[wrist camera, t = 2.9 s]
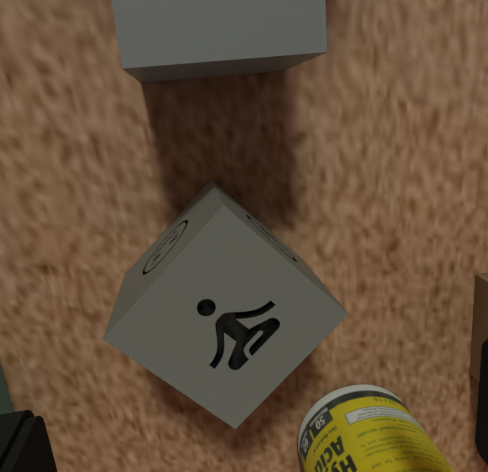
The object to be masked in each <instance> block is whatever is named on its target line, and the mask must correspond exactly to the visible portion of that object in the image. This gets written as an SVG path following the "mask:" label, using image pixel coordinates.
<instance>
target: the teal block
mask: <svg viewBox="0 0 488 472" xmlns="http://www.w3.org/2000/svg"><path fill="white" fill-rule="evenodd" d="M12 412H13V408H12V405H11V401H10V398H9V394H8V391H7V387H6V384H5V380H4V377H3V373H2V370H1V366H0V414H6V413H12Z"/></svg>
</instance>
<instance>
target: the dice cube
mask: <svg viewBox="0 0 488 472" xmlns="http://www.w3.org/2000/svg"><path fill="white" fill-rule="evenodd" d="M347 315H348V313H347V312H346V310H345V309H344V308H343V307H342V306H341V304H340V303H339V302H338V301H337V300H336V299H335V297H334V296H333V295H332V294H331V293H330V291H329V290H328V289H327V288H326V287H325V285H324V284H323V283H322V282H321V281H320V279H319V278H318V277H317V276H316V275H315V274H314V272H313V271H312V270H311V269H310V268H309V266H308V265H307V264H306V263H305V262H304V260H302V259H301V258H300V257H299V256H298V255H297V254H296V253H295V252H293V251H292V250H291V249H290V248H289V247H288V246H287V245H286V244H284V243H283V242H282V241H281V240H280V239H279V238H278V237H276V236H275V235H274V234H273V233H272V232H271V231H270V230H269V229H267V228H266V227H265V226H264V225H263V224H262V223H261V222H260V221H258V220H257V219H256V218H255V217H254V216H253V215H252V214H251V213H249V212H248V211H247V210H246V209H245V208H244V207H243V206H241V205H240V204H239V203H238V202H237V201H236V200H235V199H234V198H232V197H231V196H230V195H229V194H228V193H227V192H226V191H225V190H223V189H222V188H221V187H220V186H219V185H218V184H217V183H216V182H214V181H213V180H212V179H210V180H209V181H208V182H207V183H206V185H205V186H204V187H203V188H202V189H201V190H200V191H199V192H198V194H197V195H196V196H195V197H194V198H193V199H192V200H191V201H190V203H189V204H188V205H187V206H186V207H185V208H184V209H183V210H182V212H181V213H180V214H179V215H178V216H177V217H176V218H175V219H174V221H173V222H172V223H171V224H170V225H169V226H168V227H167V228H166V230H165V231H164V232H163V233H162V234H161V235H160V236H159V237H158V239H157V240H156V241H155V242H154V243H153V244H152V245H151V246H150V248H149V249H148V250H147V251H146V252H145V253H144V254H143V255H142V257H141V258H140V259H139V260H138V261H137V262H136V263H135V264H134V266H133V267H132V268H131V269H130V270H129V271H128V272H127V273H126V275H125V276H124V279H123V282H122V285H121V288H120V291H119V294H118V296H117V299H116V302H115V305H114V308H113V311H112V314H111V317H110V320H109V323H108V326H107V329H106V331H105V334H104V337H103V340H105V341H106V342H108V343H109V344H111V345H112V346H114V347H115V348H117V349H118V350H120V351H121V352H122V353H124V354H125V355H127V356H128V357H130V358H131V359H133V360H134V361H136V362H137V363H139V364H140V365H142V366H143V367H145V368H146V369H148V370H149V371H150V372H152V373H153V374H155V375H156V376H158V377H159V378H161V379H162V380H164V381H165V382H167V383H168V384H170V385H171V386H173V387H174V388H175V389H177V390H178V391H180V392H181V393H183V394H184V395H186V396H187V397H189V398H190V399H192V400H193V401H195V402H196V403H198V404H199V405H200V406H202V407H203V408H205V409H206V410H208V411H209V412H211V413H212V414H214V415H215V416H217V417H218V418H220V419H221V420H223V421H224V422H226V423H227V424H228V425H230V426H231V427H233V428H234V429H236V428H237V427H238V426H239V425H240V424H241V423H242V422H243V421H244V420H245V419H246V418H247V417H248V416H249V415H250V414H251V413H252V412H253V411H254V410H255V409H256V408H257V407H258V406H259V405H260V404H261V403H262V402H263V401H264V400H265V399H266V398H267V397H268V396H269V395H270V394H271V393H272V392H273V390H274V389H275V388H276V387H277V386H278V385H279V384H280V383H281V382H282V381H283V380H284V379H285V378H286V377H287V376H288V375H289V374H290V373H291V372H292V371H293V370H294V369H295V368H296V367H297V366H298V365H299V364H300V363H301V362H302V361H303V360H304V359H305V358H306V357H307V356H308V355H309V354H310V353H311V352H312V351H313V350H314V349H315V348H316V347H317V346H318V345H319V344H320V343H321V341H322V340H323V339H324V338H325V337H326V336H327V335H328V334H329V333H330V332H331V331H332V330H333V329H334V328H335V327H336V326H337V325H338V324H339V323H340V322H341V321H342V320H343V319H344V318H345V317H346V316H347Z"/></svg>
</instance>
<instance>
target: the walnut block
mask: <svg viewBox="0 0 488 472" xmlns="http://www.w3.org/2000/svg"><path fill="white" fill-rule="evenodd" d="M487 337H488V273H483V274H477V275H475V290H474V307H473V324H472V341H471V358H470V375H471V376H473V377H474V378H475V379H476V380H477V381H478V382H479V378H480V363H481V349H482V344H483V342H484V341H486V340H487Z"/></svg>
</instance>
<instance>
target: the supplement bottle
mask: <svg viewBox="0 0 488 472" xmlns="http://www.w3.org/2000/svg"><path fill="white" fill-rule="evenodd" d="M298 451H299V455H300V459H301V462H302V466H303V469H304V472H455V471H454V470H453V468H452V467H451V466H450V464H449V463H448V462H447V460H446V459H445V458H444V456H443V455H442V454H441V452H440V451H439V450H438V448H437V447H436V446H435V444H434V443H433V442H432V440H431V439H430V438H429V436H428V435H427V434H426V432H425V431H424V430H423V428H422V427H421V426H420V424H419V423H418V422H417V420H416V419H415V418H414V416H413V415H412V414H411V412H410V411H409V410H408V408H407V407H406V406H405V405H404V404H403V402H402V401H401V400H400V399H399V398H398V397H397V396H395V395H394V394H393V393H391V392H390V391H388V390H386V389H384V388H381V387H378V386H374V385H367V384H360V385H351V386H347V387H343V388H340V389H337V390H335V391H333V392H331V393H329V394H327V395H325V396H324V397H323V398H321V399H320V400H319V401H317V402H316V403H315V404H314V405H313V406H312V408H311V409H310V410H309V411H308V413H307V414H306V416H305V418H304V420H303V422H302V424H301V427H300V430H299V435H298Z"/></svg>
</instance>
